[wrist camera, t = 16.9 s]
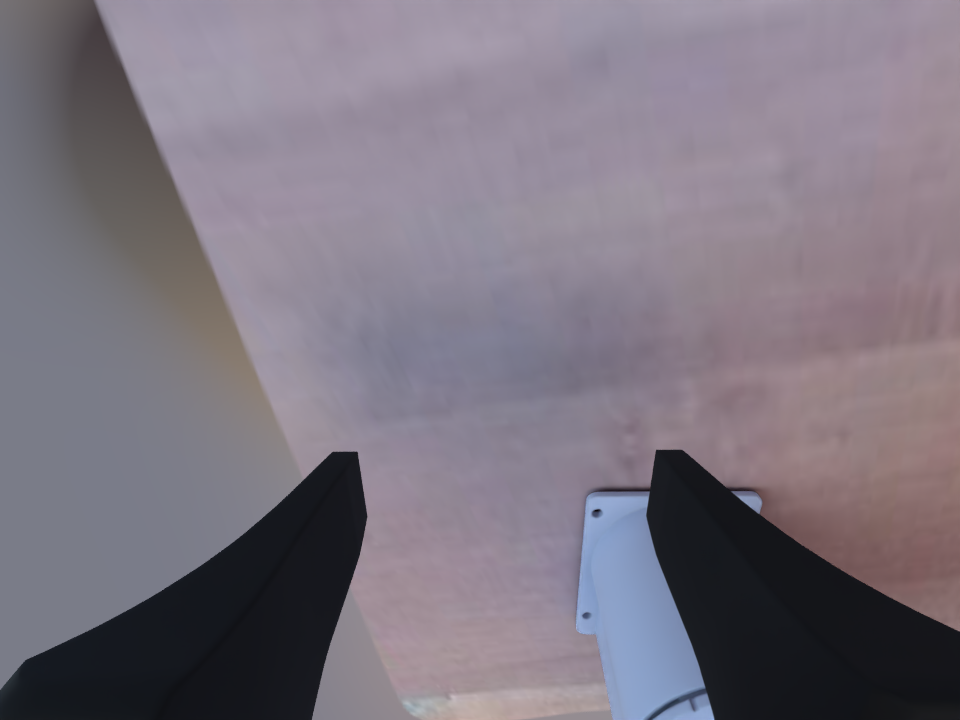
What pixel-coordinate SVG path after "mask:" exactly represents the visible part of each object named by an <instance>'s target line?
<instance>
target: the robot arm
mask: <svg viewBox="0 0 960 720" xmlns="http://www.w3.org/2000/svg"><path fill="white" fill-rule="evenodd" d="M761 506H762V500H761V498H760V496H759V495H758V494H757V493H756V492H753V491H730V490H729V489H727V488H726V487H725V486H724V485H723V484H722V483H720V482H719V481H718V480H717V479H716V478H715V477H713V476H712V475H711V474H710V473H709V472H708V471H706V470H705V469H704V468H703V467H702V466H701V465H700V464H698V463H697V462H696V461H695V460H694V459H693V458H691V457H690V456H689V455H688V454H687V453H685V452H684V451H683V450H656V454H655V461H654V467H653V474H652V480H651V487H650V491H648V492H593V493H591V494H590V495H589V496H588V497H587V499H586V509H585V520H584V532H583V543H582V555H581V567H580V578H579V590H578V601H577V613H576V628H577V631H578V632H579V633H582V634H596V636H597V641H598V647H599V652H600V657H601V662H602V667H603V672H604V677H605V682H606V687H607V692H608V698H609V703H610V708H611V713H612V718H613V720H960V632H959V631H957V630H955V629H953V628H951V627H948V626H946V625H944V624H942V623H940V622H938V621H936V620H934V619H932V618H930V617H928V616H925V615H923V614H921V613H919V612H917V611H915V610H913V609H911V608H909V607H907V606H905V605H903V604H901V603H899V602H897V601H895V600H894V599H892V598H890V597H888V596H886V595H884V594H882V593H881V592H879V591H877V590H875V589H873V588H872V587H870V586H868V585H866V584H864V583H863V582H861V581H859V580H857V579H855V578H854V577H852V576H850V575H848V574H847V573H845V572H843V571H842V570H840V569H838V568H837V567H835V566H833V565H832V564H830V563H829V562H827V561H826V560H824V559H822V558H821V557H819V556H818V555H816V554H815V553H813V552H812V551H810V550H808V549H807V548H805V547H804V546H802V545H801V544H799V543H798V542H796V541H795V540H794V539H792V538H791V537H789V536H788V535H786V534H785V533H784V532H782V531H781V530H780V529H778V528H777V527H776V526H774V525H773V524H772V523H770V522H769V521H767V520H766V519H765V518H763V517H762V516H761V515H760V510H761ZM596 509H600V511H598V512H593V511H594V510H596ZM366 521H367V511H366V505H365V498H364V492H363V485H362V479H361V472H360V465H359V459H358V452H332V453H331V454H330V455H329V456H328V457H327V458H326V459H325V460H324V461H323V462H322V463H321V464H320V465H318V466H317V467H316V468H315V469H314V470H313V471H312V472H311V473H310V474H309V475H308V476H307V477H306V478H305V479H304V480H303V481H302V482H301V483H300V484H299V485H298V486H297V487H296V488H295V489H294V490H293V491H292V492H291V493H290V494H289V495H288V496H286V497H285V499H283V500H282V501H281V502H280V503H279V504H278V505H277V506H276V507H275V508H274V509H272V510H271V511H270V512H269V513H268V514H267V515H266V516H264V517H263V518H262V519H261V520H260V521H259V522H257V523H256V524H255V525H254V526H253V527H251V528H250V529H249V530H248V531H247V532H246V533H244V534H243V535H242V536H241V537H240V538H238V539H237V540H236V541H235V542H233V543H232V544H230V545H229V546H228V547H226V548H225V549H224V550H222V551H221V552H219V553H218V554H217V555H215V556H214V557H213V558H211V559H210V560H209V561H207V562H206V563H204V564H203V565H201V566H200V567H198V568H197V569H195V570H194V571H192V572H190V573H189V574H187V575H186V576H184V577H183V578H181V579H180V580H178V581H176V582H175V583H173V584H172V585H170V586H169V587H167V588H165V589H164V590H162V591H161V592H159V593H157V594H156V595H154V596H152V597H151V598H149V599H147V600H145V601H144V602H142V603H140V604H138V605H137V606H135V607H133V608H131V609H129V610H127V611H126V612H124V613H122V614H120V615H118V616H116V617H114V618H113V619H111V620H109V621H107V622H105V623H103V624H101V625H99V626H98V627H95V628H93V629H91V630H89V631H88V632H85V633H83V634H81V635H79V636H77V637H74V638H72V639H70V640H68V641H66V642H64V643H62V644H60V645H58V646H55V647H54V648H51V649H49V650H47V651H45V652H43V653H41V654H38V655H36V656H34V657H32V658H29V659H27V660H25V662H24V663H23V664H22V665H21V666H20V667H19V668H18V670H17V671H16V672H15V673H14V674H13V675H12V677H11V678H10V679H9V680H8V682H7V683H6V684H5V685H4V686H3V688H2V689H1V690H0V720H312V716H313V711H314V706H315V702H316V698H317V694H318V689H319V685H320V680H321V676H322V672H323V668H324V663H325V660H326V656H327V653H328V650H329V646H330V643H331V640H332V636H333V634H334V631H335V627H336V625H337V622H338V619H339V616H340V613H341V610H342V607H343V604H344V601H345V598H346V595H347V592H348V589H349V586H350V583H351V580H352V577H353V574H354V571H355V568H356V565H357V562H358V559H359V556H360V551H361V546H362V542H363V537H364V531H365V526H366Z"/></svg>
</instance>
